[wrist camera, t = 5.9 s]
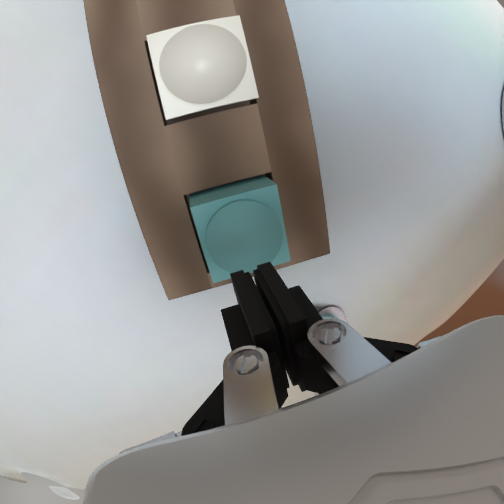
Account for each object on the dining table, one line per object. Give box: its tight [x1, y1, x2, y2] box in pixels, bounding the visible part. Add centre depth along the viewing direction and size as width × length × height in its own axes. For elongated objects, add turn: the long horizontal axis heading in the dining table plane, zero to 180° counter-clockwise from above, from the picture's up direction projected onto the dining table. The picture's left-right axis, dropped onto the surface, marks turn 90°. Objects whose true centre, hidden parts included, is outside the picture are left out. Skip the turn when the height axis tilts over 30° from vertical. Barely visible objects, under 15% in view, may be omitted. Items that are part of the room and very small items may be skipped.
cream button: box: [146, 15, 259, 120], centre depth 15 cm, size 5×5×4 cm
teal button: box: [189, 175, 291, 283], centre depth 19 cm, size 5×5×4 cm
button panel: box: [84, 0, 330, 300], centre depth 17 cm, size 12×28×3 cm, turn 12°
